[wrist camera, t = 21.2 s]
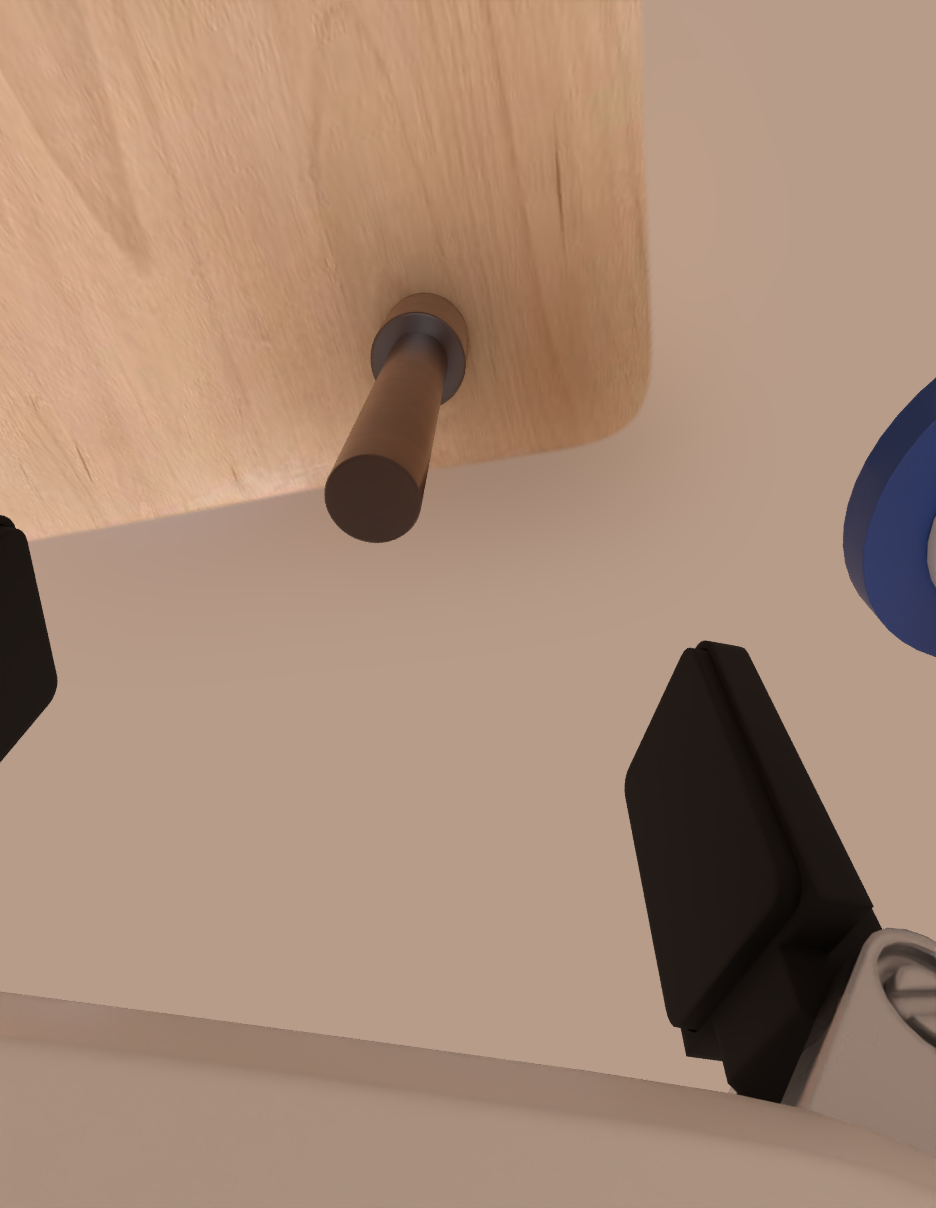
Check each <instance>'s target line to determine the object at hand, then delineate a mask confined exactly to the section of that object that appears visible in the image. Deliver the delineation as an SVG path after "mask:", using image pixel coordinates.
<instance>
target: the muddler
mask: <svg viewBox="0 0 936 1208" xmlns="http://www.w3.org/2000/svg"><path fill="white" fill-rule="evenodd" d="M467 349H468V331H467V327H466V324H465V321H464V319H463V317H462V315H461V314H460V312H459V311H458V309H457V308H456V307H455V306H454V305H453V304H452V303H451V302H449V301H448V300H446V299H445V298H443V297H440V296H438V295H435V294H430V293H419V294H414V295H411V296H408V297H406V298H404V299H403V300H401V301H400V302H399V303H398V304H397V305H396V306H395V307H394V308H393V309H392V311H391V312H390V313H389V315H388V317H387V318H386V320H385V322H384V323H383V325H382V327H381V328H380V330H379V331H378V333H377V335H376V337H375V339H374V342H373V345H372V349H371V368H372V372H373V375H374V378H375V380H376V381H375V383H374V385H373V387H372V389H371V391H370V393H369V395H368V397H367V400H366V402H365V404H364V406H363V408H362V410H361V412H360V414H359V416H358V418H357V420H356V422H355V424H354V426H353V428H352V430H351V432H350V434H349V436H348V438H347V440H346V442H345V444H344V446H343V448H342V450H341V452H340V454H339V457H338V459H337V461H336V463H335V465H334V467H333V469H332V471H331V473H330V475H329V477H328V479H327V482H326V485H325V494H324V495H325V503H326V507H327V510H328V512H329V514H330V516H331V518H332V519H333V521H334V522H335V523H336V525H337V526H338V527H339V528H340V529H341V530H343V531H344V532H345V533H347V534H348V535H350V536H352V537H354V538H356V539H358V540H361V541H365V542H371V543H383V542H388V541H392V540H395V539H397V538H399V537H401V536H402V535H404V534H405V533H407V532H408V531H409V530H410V529H411V528H412V527H413V526H414V524H415V523H416V521H417V519H418V517H419V514H420V510H421V505H422V499H423V494H424V488H425V483H426V478H427V472H428V467H429V462H430V456H431V451H432V446H433V440H434V435H435V430H436V424H437V419H438V414H439V408H440V405H442V404H444V403H445V402H447V401H448V400H449V399H450V398H451V397H452V396H454V394H455V393H456V392H457V390H458V389H459V387H460V385H461V383H462V381H463V378H464V375H465V369H466V359H467Z"/></svg>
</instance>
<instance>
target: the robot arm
mask: <svg viewBox="0 0 936 1208" xmlns="http://www.w3.org/2000/svg"><path fill="white" fill-rule="evenodd" d="M927 564H928V568H929V573H930V577H931V580H932V582H933V584H934V586H935V587H936V516H935V518H934V520H933V524H932V528H931V532H930V535H929V539H928V548H927ZM56 688H57V674H56V669H55V665H54V660H53V656H52V651H51V647H50V642H49V637H48V633H47V628H46V624H45V619H44V615H43V611H42V606H41V601H40V596H39V592H38V588H37V583H36V578H35V574H34V569H33V565H32V560H31V556H30V551H29V547H28V542H27V539H26V536H25V534H24V533H23V532H22V531H21V530H19V529H16V528H15V525H14V523H13V522H12V521H11V520H10V519H9V518H7V517H5V516H2V515H0V762H1V761H2V760H3V758H4V757H5V756H6V755H7V754H8V752H9V751H10V750H11V749H12V748H13V746H14V745H15V744H16V743H17V742H18V740H19V739H20V738H21V737H22V736H23V735H24V733H25V732H26V731H27V730H28V729H29V727H30V726H31V725H32V724H33V722H34V721H35V720H36V719H37V718H38V717H39V715H40V714H41V713H42V712H43V711H44V709H45V708H46V707H47V706H48V704H49V703H50V702H51V700H52V699H53V697H54V694H55V692H56ZM625 798H626V803H627V808H628V813H629V819H630V824H631V829H632V835H633V840H634V845H635V850H636V856H637V861H638V866H639V871H640V876H641V882H642V887H643V892H644V898H645V903H646V908H647V913H648V918H649V923H650V929H651V934H652V939H653V945H654V950H655V955H656V960H657V966H658V971H659V976H660V981H661V987H662V992H663V996H664V1002H665V1007H666V1012H667V1016H668V1018H669V1020H670V1023H671V1024H672V1025H673V1026H674V1027H678V1028H681V1032H682V1036H683V1042H684V1047H685V1052H686V1056H688V1057H695V1058H703V1059H710V1060H718V1061H723V1065H724V1069H725V1074H726V1077H727V1082H728V1084H729V1085H730V1086H731V1088H730V1090H729V1092H728V1093H724V1092H718V1091H711V1090H705V1089H699V1088H692V1087H686V1086H680V1085H674V1084H667V1083H660V1082H654V1081H647V1080H642V1079H635V1078H628V1077H622V1076H616V1075H610V1074H604V1073H597V1072H591V1071H584V1070H577V1069H570V1068H562V1067H555V1066H548V1065H541V1064H534V1063H526V1062H519V1061H511V1060H505V1059H497V1058H490V1057H483V1056H475V1055H469V1054H461V1053H454V1052H447V1051H439V1050H432V1049H425V1048H418V1047H411V1046H403V1045H396V1044H389V1043H382V1042H374V1041H367V1040H360V1039H353V1038H346V1037H338V1036H330V1035H323V1034H316V1033H308V1032H300V1031H293V1030H285V1029H278V1028H271V1027H263V1026H255V1025H248V1024H241V1023H233V1022H226V1021H218V1020H210V1019H203V1018H196V1017H188V1016H180V1015H173V1014H166V1013H158V1012H151V1011H143V1010H135V1009H128V1008H119V1007H113V1006H105V1005H97V1004H90V1003H83V1002H75V1001H67V1000H59V999H52V998H45V997H37V996H29V995H21V994H13V993H6V992H0V1208H936V942H935V941H934V940H932V939H930V938H928V937H926V936H924V935H921V934H918V933H915V932H912V931H909V930H906V929H894V928H885V929H883V930H882V928H881V926H880V924H879V922H878V920H877V918H876V916H875V914H874V912H873V910H872V907H873V904H872V902H871V900H870V898H869V896H868V894H867V892H866V890H865V888H864V886H863V884H862V882H861V880H860V878H859V876H858V874H857V872H856V870H855V868H854V866H853V864H852V862H851V860H850V858H849V856H848V854H847V852H846V850H845V848H844V846H843V844H842V842H841V840H840V838H839V836H838V834H837V832H836V830H835V828H834V826H833V824H832V822H831V820H830V818H829V815H828V813H827V811H826V809H825V807H824V805H823V803H822V801H821V799H820V797H819V795H818V794H817V791H816V789H815V787H814V785H813V783H812V781H811V779H810V777H809V775H808V773H807V771H806V769H805V767H804V765H803V763H802V761H801V759H800V757H799V755H798V753H797V751H796V749H795V747H794V745H793V743H792V741H791V739H790V737H789V735H788V733H787V731H786V729H785V727H784V725H783V723H782V721H781V719H780V717H779V715H778V713H777V711H776V709H775V707H774V705H773V703H772V700H771V698H770V697H769V695H768V692H767V690H766V688H765V686H764V684H763V682H762V680H761V678H760V676H759V674H758V672H757V670H756V668H755V666H754V664H753V662H752V660H751V658H750V656H749V654H748V653H747V651H746V650H745V649H744V648H742V647H739V646H734V645H728V644H722V643H717V642H711V641H702V642H700V643H699V644H698V645H697V647H696V648H695V649H694V648H687V649H686V650H685V651H684V652H683V654H682V656H681V657H680V660H679V662H678V664H677V666H676V668H675V670H674V673H673V675H672V677H671V679H670V681H669V683H668V685H667V687H666V690H665V692H664V694H663V696H662V698H661V700H660V703H659V705H658V707H657V709H656V711H655V713H654V715H653V717H652V720H651V722H650V724H649V726H648V728H647V730H646V732H645V734H644V737H643V739H642V741H641V743H640V745H639V747H638V749H637V752H636V754H635V756H634V758H633V760H632V762H631V764H630V767H629V769H628V771H627V774H626V779H625Z"/></svg>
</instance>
